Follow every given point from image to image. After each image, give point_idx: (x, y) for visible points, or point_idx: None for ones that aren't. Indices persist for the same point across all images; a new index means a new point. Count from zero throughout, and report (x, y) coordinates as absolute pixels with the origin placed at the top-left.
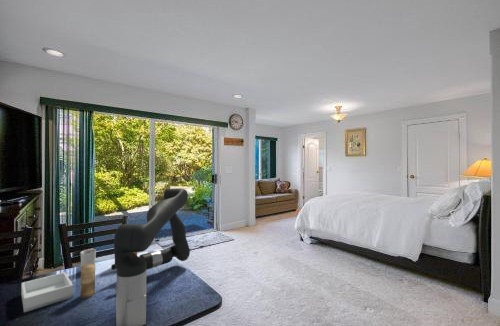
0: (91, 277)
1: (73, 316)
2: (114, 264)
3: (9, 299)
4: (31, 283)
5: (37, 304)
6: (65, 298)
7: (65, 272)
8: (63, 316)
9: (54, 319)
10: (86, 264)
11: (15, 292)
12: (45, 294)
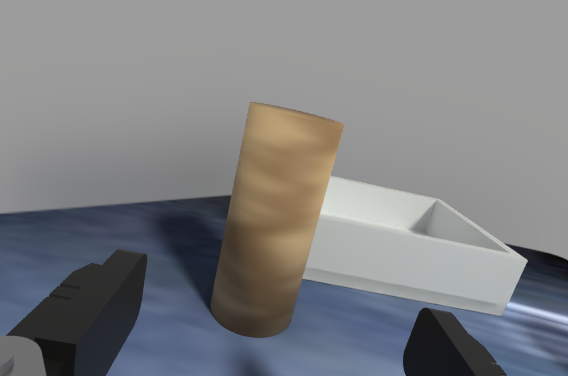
0: (235, 185)
1: (82, 221)
2: (446, 327)
3: None
4: (442, 215)
5: None
6: None
7: (520, 258)
8: (129, 216)
9: (140, 207)
10: (338, 122)
11: None
12: None
